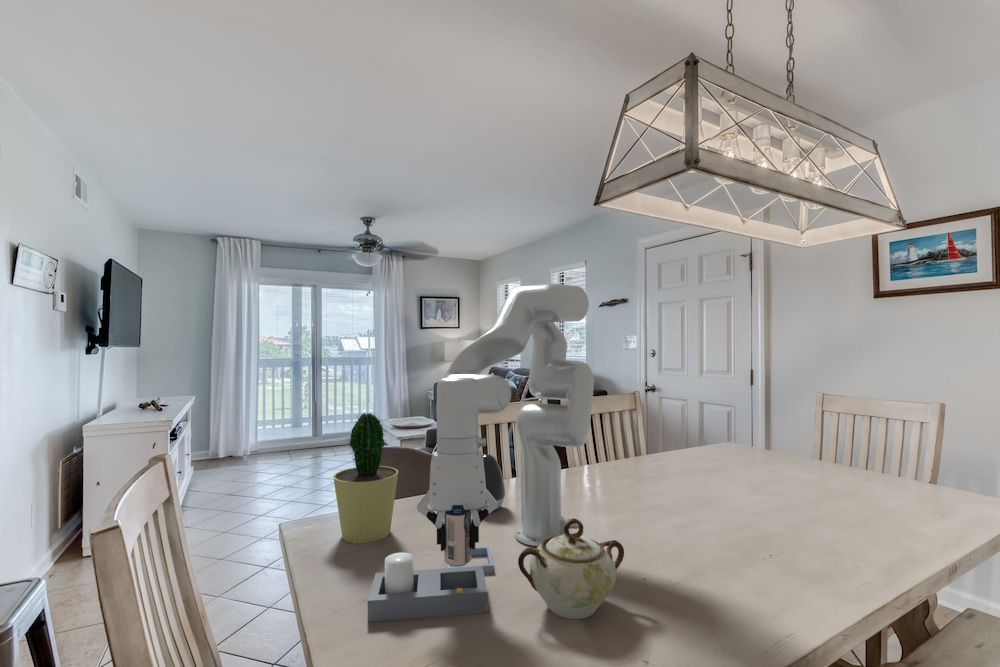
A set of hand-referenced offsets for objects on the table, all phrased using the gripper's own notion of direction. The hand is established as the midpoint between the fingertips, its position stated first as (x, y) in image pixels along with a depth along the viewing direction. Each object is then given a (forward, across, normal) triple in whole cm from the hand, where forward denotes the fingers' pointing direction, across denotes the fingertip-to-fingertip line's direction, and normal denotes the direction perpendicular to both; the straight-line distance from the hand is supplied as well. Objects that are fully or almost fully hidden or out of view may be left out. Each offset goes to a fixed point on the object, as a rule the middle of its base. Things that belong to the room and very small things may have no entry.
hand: (457, 546), depth 87 cm
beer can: (+3, 0, 0) cm, 3 cm away
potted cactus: (+10, +21, -34) cm, 41 cm away
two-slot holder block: (+10, +5, 0) cm, 11 cm away
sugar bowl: (+10, -20, +5) cm, 23 cm away
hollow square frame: (+9, -3, -14) cm, 17 cm away
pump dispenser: (+9, -10, -48) cm, 50 cm away
